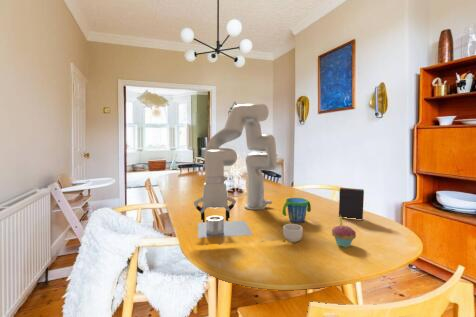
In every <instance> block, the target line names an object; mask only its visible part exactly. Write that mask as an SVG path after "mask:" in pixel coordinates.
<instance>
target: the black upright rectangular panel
mask: <svg viewBox="0 0 476 317" xmlns="http://www.w3.org/2000/svg"><path fill="white" fill-rule="evenodd" d="M364 195H365V191H364V189H363V188H350V187H349V188H348V187H340V188H339V198H338V200H339V201H338V203H339V204H338V218H339V217H340V215H341V217H347V218H356V219H363V220H364V201H365V200H364V197H365V196H364Z"/></svg>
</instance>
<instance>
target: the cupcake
mask: <svg viewBox="0 0 476 317" xmlns="http://www.w3.org/2000/svg"><path fill="white" fill-rule="evenodd" d="M339 222H340V224H339V225H337V226H334V227H333V228H332V229H331V236H333V237H334V239H335V242H336V245H337V244H338V245H339V247H341V246H343V247H342V248H349V247H351V244H352V242H353V240H354V239H356V237H357V234H356V231H355V230H354V229H352V227H350V226H348V225H343V218H342V217H341V215H340V218H339ZM338 245H337V246H338ZM348 246H349V247H348Z"/></svg>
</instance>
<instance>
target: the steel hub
mask: <svg viewBox="0 0 476 317" xmlns="http://www.w3.org/2000/svg"><path fill="white" fill-rule="evenodd" d="M214 218H216V219H218V220H212V219H214ZM205 219H206V221H205V223H206V228H207V234H208V235H212V236H216V235H221V234H223V233H224V222H225V221H224V220H225V219H224V217H223V216H222V215H210V216H207V217H206V218H205Z"/></svg>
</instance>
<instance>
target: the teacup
mask: <svg viewBox="0 0 476 317" xmlns="http://www.w3.org/2000/svg"><path fill="white" fill-rule="evenodd" d="M303 228H304V227H303V226H302V225H300V224H297V223H287V224H284V225H283V226H282V233H283V237H284V238H285V240H286V241H288V242H289V243H297V241H298V242H300V240H302V238H303V233H304V232H303V231H304V230H303Z"/></svg>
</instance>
